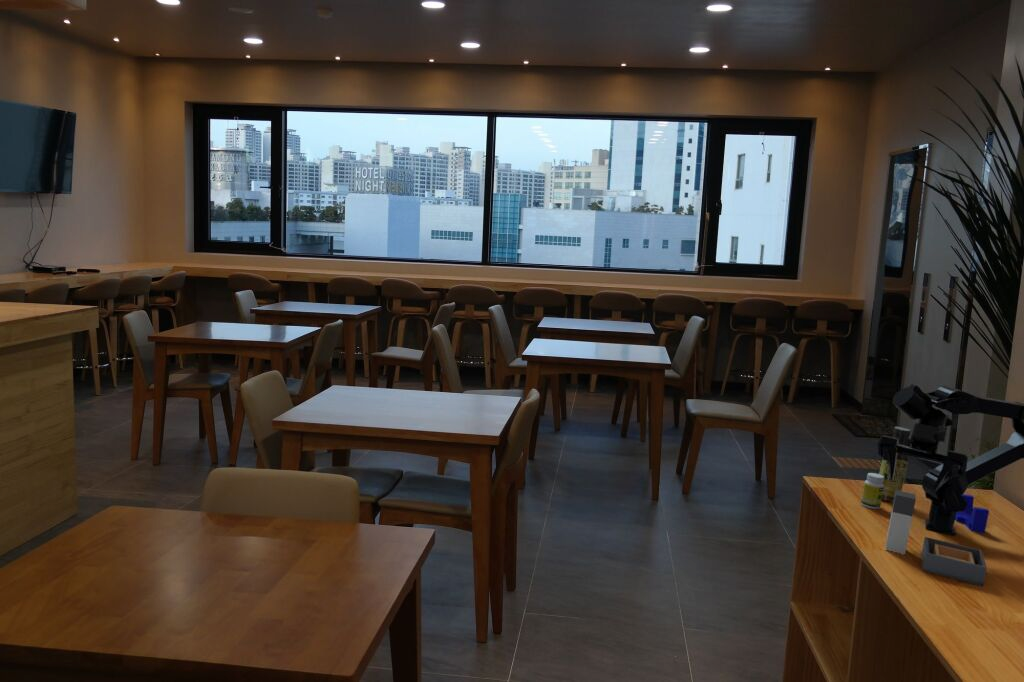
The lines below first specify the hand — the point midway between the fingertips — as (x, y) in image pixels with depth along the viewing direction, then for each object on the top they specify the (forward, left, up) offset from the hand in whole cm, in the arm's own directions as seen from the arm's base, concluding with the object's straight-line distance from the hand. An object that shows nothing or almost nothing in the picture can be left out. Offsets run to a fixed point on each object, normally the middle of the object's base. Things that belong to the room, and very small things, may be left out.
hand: (912, 484), depth 188 cm
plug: (+7, -1, -14) cm, 16 cm away
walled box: (+11, +10, -14) cm, 20 cm away
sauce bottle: (-33, -3, -14) cm, 36 cm away
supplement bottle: (-23, -7, -14) cm, 28 cm away
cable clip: (-27, +15, -14) cm, 34 cm away
